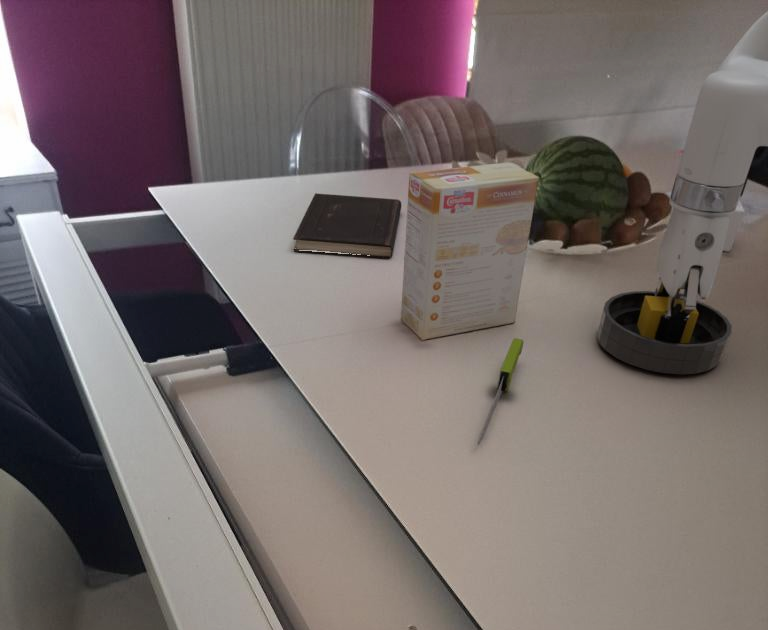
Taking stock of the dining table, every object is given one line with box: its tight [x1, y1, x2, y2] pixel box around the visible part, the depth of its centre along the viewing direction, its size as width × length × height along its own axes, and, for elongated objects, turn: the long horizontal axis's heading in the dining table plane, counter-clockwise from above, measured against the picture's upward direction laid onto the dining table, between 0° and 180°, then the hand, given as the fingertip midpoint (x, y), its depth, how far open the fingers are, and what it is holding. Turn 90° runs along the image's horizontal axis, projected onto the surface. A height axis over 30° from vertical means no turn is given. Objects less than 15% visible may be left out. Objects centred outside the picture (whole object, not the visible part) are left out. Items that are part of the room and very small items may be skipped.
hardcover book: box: [292, 192, 402, 260], centre depth 127 cm, size 16×23×2 cm
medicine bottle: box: [722, 176, 749, 253], centre depth 128 cm, size 7×7×12 cm
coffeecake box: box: [400, 161, 540, 341], centre depth 97 cm, size 15×7×20 cm, turn 115°
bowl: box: [596, 290, 733, 375], centre depth 98 cm, size 16×16×4 cm
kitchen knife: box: [476, 337, 524, 446], centre depth 86 cm, size 22×1×3 cm, turn 161°
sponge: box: [636, 296, 699, 344], centre depth 97 cm, size 6×4×5 cm
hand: (662, 334), depth 98 cm, fingers closed on sponge, 4 cm apart
